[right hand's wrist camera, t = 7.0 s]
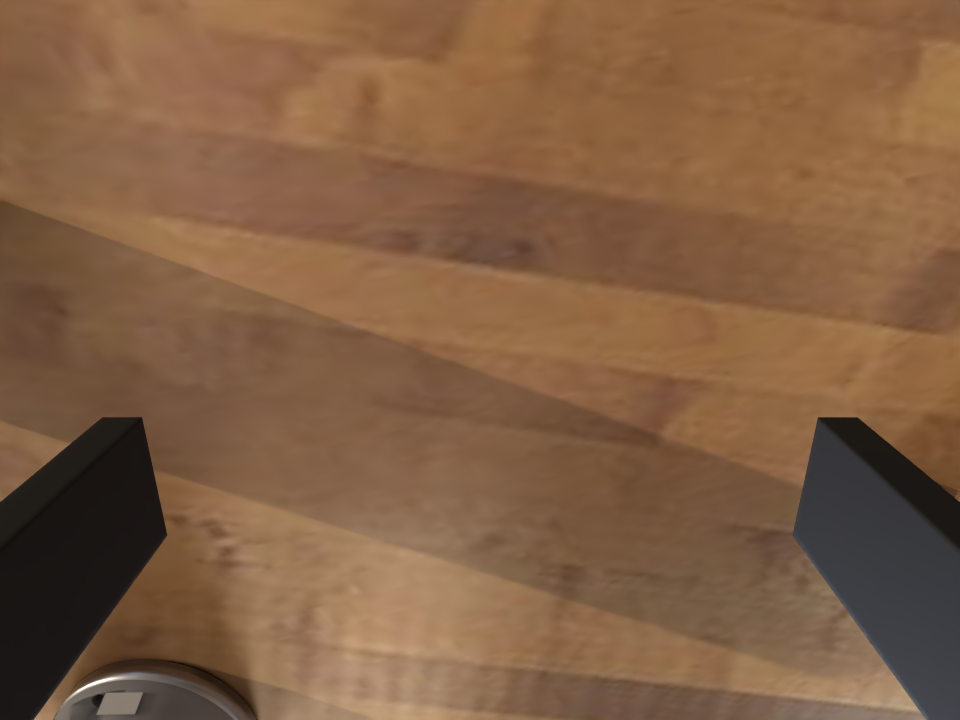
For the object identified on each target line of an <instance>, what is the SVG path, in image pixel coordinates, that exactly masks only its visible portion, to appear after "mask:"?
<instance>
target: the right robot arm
mask: <svg viewBox="0 0 960 720" xmlns="http://www.w3.org/2000/svg"><path fill="white" fill-rule="evenodd" d="M166 536H167V532H166V527H165V523H164V518H163V513H162V509H161V504H160V499H159V495H158V490H157V485H156V481H155V476H154V471H153V467H152V462H151V457H150V453H149V448H148V443H147V439H146V434H145V429H144V425H143V420H142V417H102V418H101V419H100V420H99V421H98V422H96V423H95V424H94V425H93V426H92V427H90V428H89V429H88V430H87V431H86V432H84V433H83V434H82V435H81V436H80V437H78V438H77V439H76V440H75V441H74V442H72V443H71V444H70V445H69V446H68V447H66V448H65V449H64V450H63V451H61V452H60V453H59V454H58V455H57V456H55V457H54V458H53V459H52V460H51V461H49V462H48V463H47V464H46V465H45V466H43V467H42V468H41V469H40V470H39V471H37V472H36V473H35V474H34V475H33V476H31V477H30V478H29V479H28V480H27V481H25V482H24V483H23V484H22V485H21V486H19V487H18V488H17V489H16V490H15V491H13V492H12V493H11V494H10V495H8V496H7V497H6V498H5V499H4V500H2V501H1V502H0V720H34V718H35V717H36V716H37V714H38V713H39V711H40V710H41V709H42V707H43V706H44V705H45V703H46V702H47V700H48V699H49V698H50V696H51V695H52V694H53V692H54V691H55V689H56V688H57V687H58V685H59V684H60V682H61V681H62V680H63V678H64V677H65V676H66V674H67V673H68V671H69V670H70V669H71V667H72V666H73V665H74V663H75V662H76V660H77V659H78V658H79V656H80V655H81V654H82V652H83V651H84V649H85V648H86V647H87V645H88V644H89V643H90V641H91V640H92V638H93V637H94V636H95V634H96V633H97V631H98V630H99V629H100V627H101V626H102V625H103V623H104V622H105V620H106V619H107V618H108V616H109V615H110V614H111V612H112V611H113V609H114V608H115V607H116V605H117V604H118V603H119V601H120V600H121V598H122V597H123V596H124V594H125V593H126V591H127V590H128V589H129V587H130V586H131V585H132V583H133V582H134V580H135V579H136V578H137V576H138V575H139V574H140V572H141V571H142V569H143V568H144V567H145V565H146V564H147V563H148V561H149V560H150V558H151V557H152V556H153V554H154V553H155V552H156V550H157V549H158V547H159V546H160V545H161V543H162V542H163V540H164V539H165V538H166ZM793 536H794V538H795V539H796V540H797V542H798V543H799V545H800V546H801V547H802V549H803V550H804V552H805V553H806V554H807V556H808V557H809V558H810V560H811V561H812V563H813V564H814V565H815V567H816V568H817V569H818V571H819V572H820V574H821V575H822V576H823V578H824V579H825V580H826V582H827V583H828V585H829V586H830V587H831V589H832V590H833V591H834V593H835V594H836V596H837V597H838V598H839V600H840V601H841V603H842V604H843V605H844V607H845V608H846V609H847V611H848V612H849V614H850V615H851V616H852V618H853V619H854V620H855V622H856V623H857V625H858V626H859V627H860V629H861V630H862V631H863V633H864V634H865V636H866V637H867V638H868V640H869V641H870V643H871V644H872V645H873V647H874V648H875V649H876V651H877V652H878V654H879V655H880V656H881V658H882V659H883V660H884V662H885V663H886V665H887V666H888V667H889V669H890V670H891V671H892V673H893V674H894V676H895V677H896V678H897V680H898V681H899V682H900V684H901V685H902V687H903V688H904V689H905V691H906V692H907V694H908V695H909V696H910V698H911V699H912V700H913V702H914V703H915V705H916V706H917V707H918V709H919V710H920V711H921V713H922V714H923V716H924V717H925V718H926V720H960V502H959V501H958V500H956V499H955V498H954V497H953V496H952V495H950V494H949V493H948V492H947V491H945V490H944V489H943V488H942V487H941V486H939V485H938V484H937V483H936V482H935V481H933V480H932V479H931V478H930V477H929V476H927V475H926V474H925V473H924V472H923V471H921V470H920V469H919V468H918V467H917V466H915V465H914V464H913V463H912V462H911V461H909V460H908V459H907V458H906V457H905V456H903V455H902V454H901V453H900V452H899V451H897V450H896V449H895V448H894V447H892V446H891V445H890V444H889V443H888V442H886V441H885V440H884V439H883V438H882V437H880V436H879V435H878V434H877V433H876V432H874V431H873V430H872V429H871V428H870V427H868V426H867V425H866V424H865V423H864V422H862V421H861V420H860V419H859V418H858V417H818V420H817V425H816V429H815V434H814V439H813V443H812V448H811V453H810V457H809V462H808V467H807V471H806V476H805V481H804V485H803V490H802V495H801V499H800V504H799V509H798V513H797V518H796V523H795V527H794V532H793ZM53 720H256V718H255V716H254V714H253V713H252V711H251V709H250V708H249V707H248V705H247V704H246V703H245V702H244V700H243V699H242V698H241V697H240V696H239V695H238V694H237V693H236V692H235V691H233V690H232V689H231V688H230V687H228V686H227V685H226V684H224V683H223V682H221V681H220V680H218V679H216V678H214V677H213V676H211V675H209V674H207V673H204V672H202V671H200V670H197V669H195V668H192V667H189V666H186V665H182V664H178V663H174V662H168V661H161V660H129V661H123V662H118V663H114V664H110V665H107V666H104V667H102V668H100V669H98V670H95V671H94V672H92V673H90V674H89V675H87V676H86V677H85V678H83V679H82V680H81V681H80V682H79V683H78V684H77V685H76V686H75V687H74V689H73V690H72V691H71V693H70V694H69V696H68V697H67V698H66V700H65V701H64V703H63V704H62V706H61V707H60V708H59V710H58V712H57V713H56V715H55V717H54V719H53Z"/></svg>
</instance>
